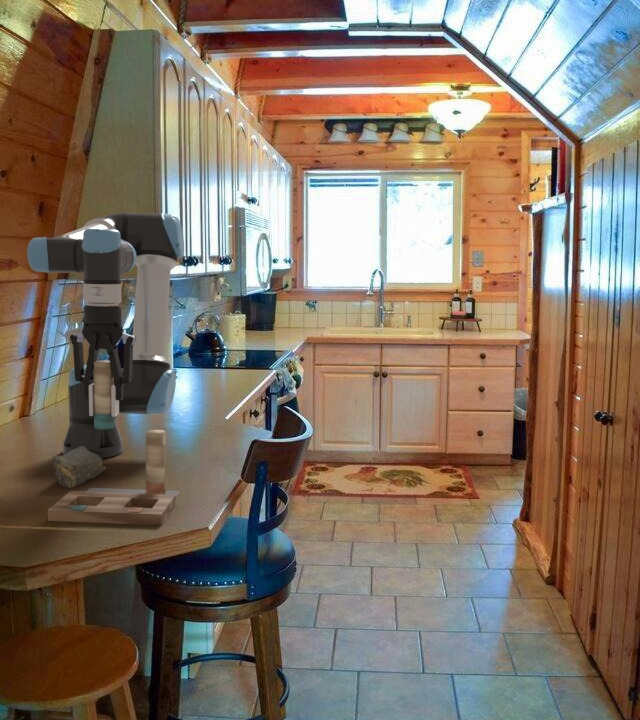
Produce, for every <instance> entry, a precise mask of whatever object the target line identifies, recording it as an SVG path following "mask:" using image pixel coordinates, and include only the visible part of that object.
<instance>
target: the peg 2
mask: <svg viewBox="0 0 640 720" xmlns="http://www.w3.org/2000/svg"><path fill="white" fill-rule="evenodd" d="M145 490H146V494H165V491H166V431H165V430H163V429H162V430H161V429H150V430H146V431H145Z"/></svg>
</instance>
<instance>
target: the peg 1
mask: <svg viewBox="0 0 640 720" xmlns="http://www.w3.org/2000/svg"><path fill="white" fill-rule="evenodd" d="M112 385H114V378H113V373H112V368H111V364H110V360H102V359H101V360H97V361H95V362H94V428H96V429H111V428H114V417H112V407H111V386H112Z"/></svg>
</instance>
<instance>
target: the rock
mask: <svg viewBox="0 0 640 720" xmlns="http://www.w3.org/2000/svg"><path fill="white" fill-rule="evenodd" d="M52 461H53V469H54V474H55V475H54V476H55V478H56V480H57V481H58V483H59V485H61V486H62V487H65V488H69V489H72V488H75V487H78V486H80V485H81V484H84V483H85V482H86V481H88V480H92V479H93V478H95V477H97V476H99V475H101V474H102V473H103V472H105V470H106V466H104V465H103V458H101V457H100V456H99V455H97V454H95V453H92V452H90V451H88V450H87V449H86V448H85V447H83V446H81V447H78V448H76V449H74V450H71V451H69V452H68V453H67V454H65V455H56V456H54V457H53V460H52Z"/></svg>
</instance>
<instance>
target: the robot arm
mask: <svg viewBox="0 0 640 720" xmlns="http://www.w3.org/2000/svg"><path fill="white" fill-rule="evenodd" d="M182 228H183V227H182V223H181V221H180V219H179V217H178V216H177V215H175V214H171V213H163V212H160V213H159V212H155V213H154V212H153V213H152V212H127V211H126V212H124V211H123V212H114V213H110V214H106V215H102V216H99V217H96V218H93V219H91V220H88V221H87V222H86V223H85V224H83V226H82V227H81V228H80V227H79V228H78V229H75V230H72V231H70V232H69V231H68V232H67V233H64V234H61V235H58V236H55V237H46V236H43V237H33V238H32V239H31V240H30V241H29V243H28V246H27V253H26V254H27V262H28V265H29V267H30V269H32V270H33V272H37V273H38V272H40V273H46V274H49V273H65V274H66V273H68V274H70V273H71V274H83V282H82V283H83V303H85V304H86V305H84V306H83V328H82V330H81V331H80V332H78V333H73V334H70V335H69V340H70V341H71V344H72V347H73V348H72V352H73V368H72V369H71V370H69V372H68V383H67V384H68V385H67V387H68V417H69V418H68V420H69V421H68V424H69V425H68V426H67V430H66V434H65V437H64V440H63V443H62V454H63V455H65V454H67V453H68V452H69V451H71V450H74V449H76V448H78V447H81V446H83V447H85V448H86V449H87V450H88V451H90V452H92V453H95V454H97V455H99V456H100V457H101V459H105V458H110V457H114V456H118V455H121V453H123V452H124V443H123V442H124V441H123V439H122V435H121V433H120V429H119V427H118V425H117V416H119V414H122V415H124V414H125V415H127V414H129V415H148V416H152V415H163V414H166V413H167V412H168V411H169V410H170V408H171V406H172V403H173V400H174V396H175V393H176V385H177V382H176V380H177V376H176V375H177V374H176V372H175V371H174V370H173V369H171V362H169V361H168V360H167V359H166V346H167V345H166V343H167V326H168V313H169V301H170V300H169V298H170V297H169V296H170V282H171V271H172V270H173V269H174V268H176V267H177V264H178V259H181V258H183V257H184V255H185V241H184V233H183V229H182ZM135 266H136V267H137V273H136V287H135V301H134V313H133V315H134V316H133V328H132V335H131V334H128V333H127V332H125V331H124V328H123V326H122V306H121V305H120V304H121V303H122V275H124V274H126V273H129V272H130V271H131V270H132V269H133V268H134V267H135ZM84 339H85V340H86V341H87V343H88V345H89V347H88V355H87V360H86V361H87V362H86V364H85V359H84V344H83V342H84ZM121 339H122V343H123V344H124V347H123V368H122V366H121V361H120V357H119V350H118V349H119V348H118V344H119V342H120V340H121ZM101 349H103V350H106V353H107V355H108V358H109V361H110V364H111V368H112V373H113V378H114V385H112V386H111V407H112V417H114V428H111V429H96V428H94V362H95V361H98V357H99V352H100V351H101ZM63 455H62V456H63Z"/></svg>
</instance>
